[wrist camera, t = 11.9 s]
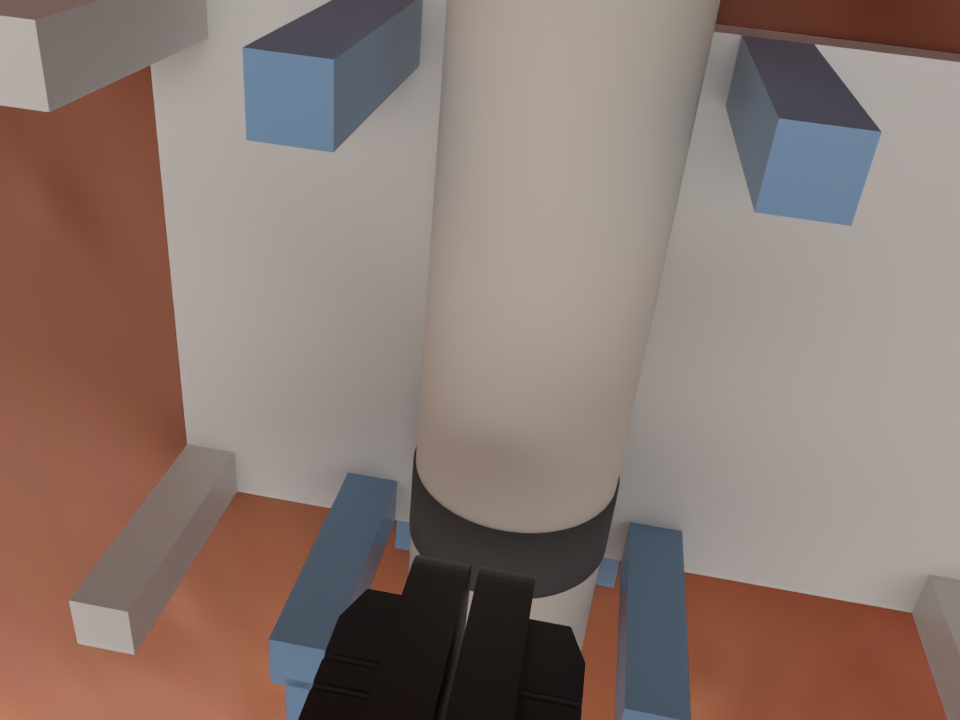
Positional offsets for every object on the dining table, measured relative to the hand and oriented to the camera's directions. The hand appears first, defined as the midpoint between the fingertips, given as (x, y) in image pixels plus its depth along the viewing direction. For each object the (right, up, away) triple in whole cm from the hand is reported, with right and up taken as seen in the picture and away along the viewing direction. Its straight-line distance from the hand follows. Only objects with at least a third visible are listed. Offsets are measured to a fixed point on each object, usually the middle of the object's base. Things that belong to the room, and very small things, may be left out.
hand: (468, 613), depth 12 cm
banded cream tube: (+1, +4, +7) cm, 8 cm away
